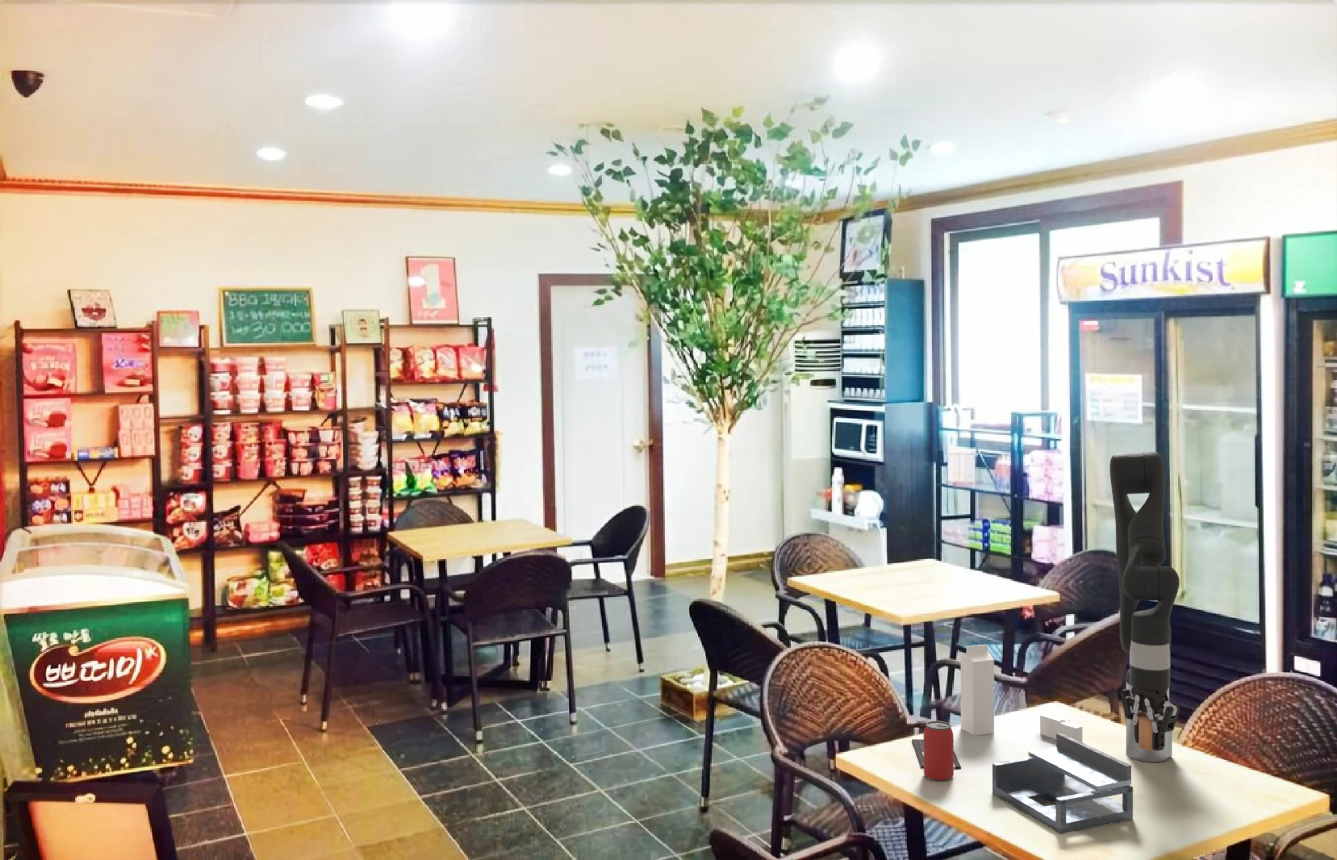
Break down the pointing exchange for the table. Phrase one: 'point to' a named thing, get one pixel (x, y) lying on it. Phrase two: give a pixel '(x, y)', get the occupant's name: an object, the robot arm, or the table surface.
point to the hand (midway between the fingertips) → (1149, 746)
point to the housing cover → (1084, 764)
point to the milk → (977, 691)
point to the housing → (1058, 796)
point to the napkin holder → (1059, 727)
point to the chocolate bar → (919, 750)
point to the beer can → (938, 751)
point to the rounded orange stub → (1145, 733)
